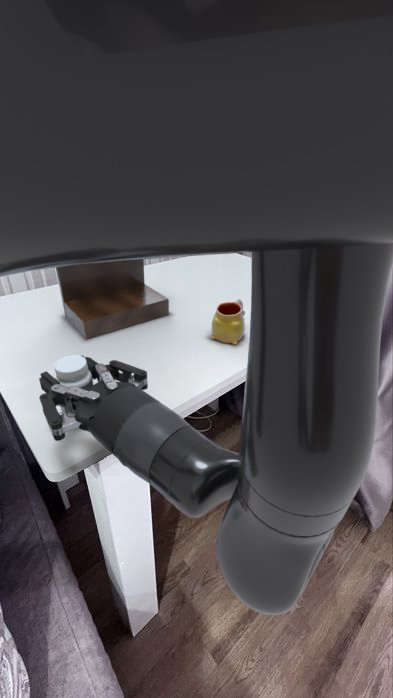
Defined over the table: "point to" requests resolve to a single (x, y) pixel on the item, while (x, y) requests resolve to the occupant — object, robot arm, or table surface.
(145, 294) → the shelf
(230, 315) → the mug
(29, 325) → the table surface
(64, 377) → the pill bottle
